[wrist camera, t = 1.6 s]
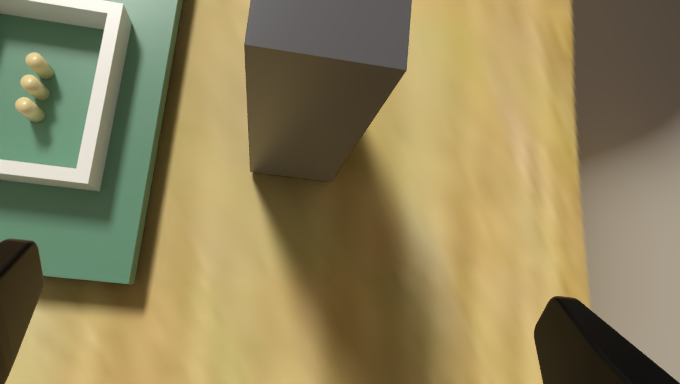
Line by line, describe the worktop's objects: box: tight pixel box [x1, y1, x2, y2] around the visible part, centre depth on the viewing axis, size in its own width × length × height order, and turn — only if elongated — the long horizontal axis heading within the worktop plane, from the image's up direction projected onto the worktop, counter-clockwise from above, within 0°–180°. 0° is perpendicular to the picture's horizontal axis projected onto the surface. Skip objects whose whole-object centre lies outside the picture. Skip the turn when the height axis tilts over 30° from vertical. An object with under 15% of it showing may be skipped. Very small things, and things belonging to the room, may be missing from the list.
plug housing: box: [244, 0, 412, 182], centre depth 18 cm, size 5×4×12 cm
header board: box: [0, 0, 183, 284], centre depth 21 cm, size 14×9×2 cm, turn 175°
